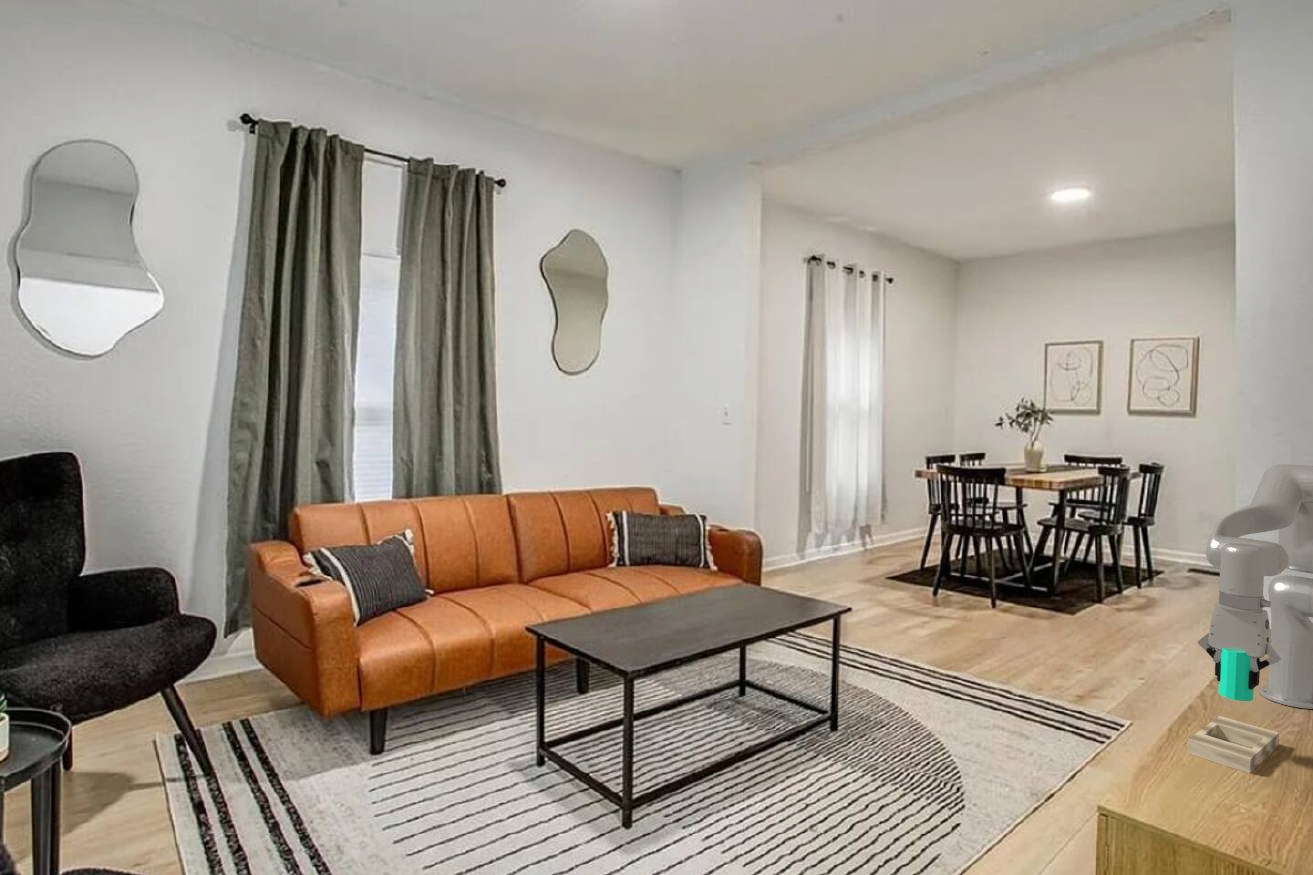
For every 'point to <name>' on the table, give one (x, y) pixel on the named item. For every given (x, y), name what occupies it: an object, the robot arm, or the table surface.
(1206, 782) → the table surface
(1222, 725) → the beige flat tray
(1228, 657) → the candle
